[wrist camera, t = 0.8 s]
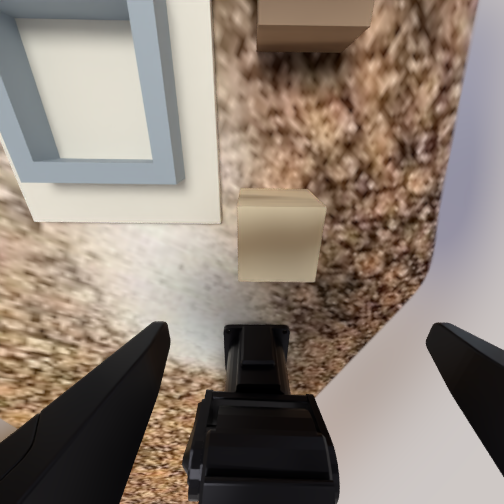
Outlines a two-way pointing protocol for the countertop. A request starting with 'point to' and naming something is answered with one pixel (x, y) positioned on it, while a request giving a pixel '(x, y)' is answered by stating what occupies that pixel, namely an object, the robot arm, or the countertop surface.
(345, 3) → the walnut block
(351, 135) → the countertop surface
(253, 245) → the maple cube
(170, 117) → the board
